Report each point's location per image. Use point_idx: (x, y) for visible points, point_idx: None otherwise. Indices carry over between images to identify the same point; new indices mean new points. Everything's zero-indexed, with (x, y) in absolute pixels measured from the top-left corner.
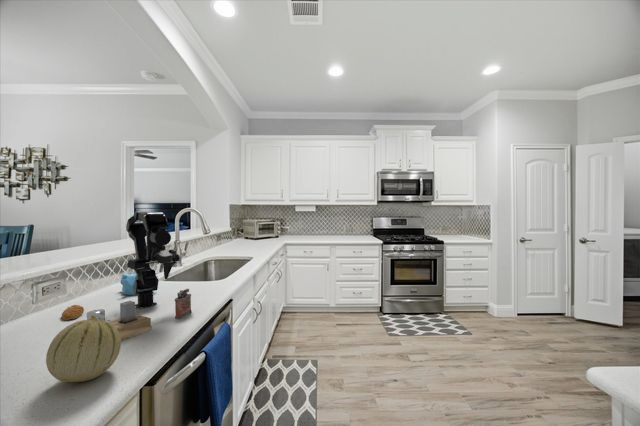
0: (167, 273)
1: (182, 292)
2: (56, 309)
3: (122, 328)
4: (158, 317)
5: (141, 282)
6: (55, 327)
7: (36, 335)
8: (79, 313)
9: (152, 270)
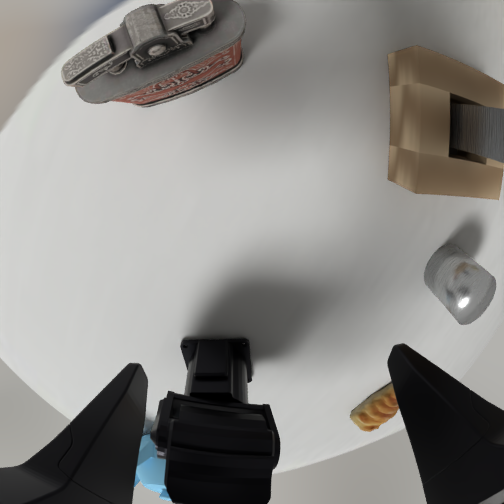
0: (110, 413)
1: (161, 7)
2: (351, 443)
3: (498, 83)
4: (281, 158)
5: (262, 445)
6: (442, 353)
7: (477, 330)
8: (385, 395)
9: (183, 499)
